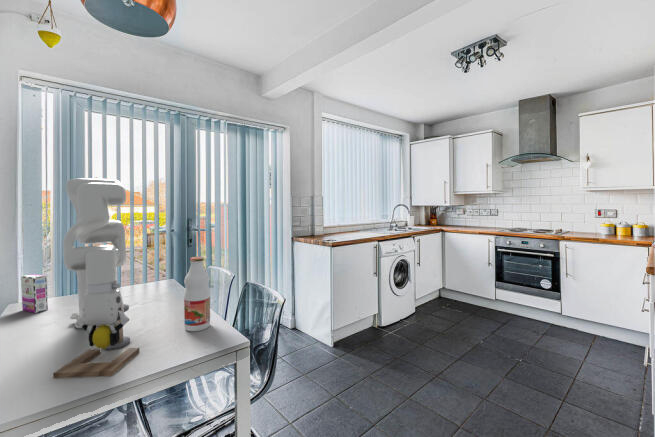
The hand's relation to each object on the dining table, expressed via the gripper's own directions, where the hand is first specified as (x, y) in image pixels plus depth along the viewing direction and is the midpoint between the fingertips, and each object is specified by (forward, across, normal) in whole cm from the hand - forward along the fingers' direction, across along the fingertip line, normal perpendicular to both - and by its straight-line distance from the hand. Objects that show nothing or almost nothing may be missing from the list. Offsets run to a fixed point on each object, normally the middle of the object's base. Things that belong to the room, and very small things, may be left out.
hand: (104, 343), depth 95 cm
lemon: (+2, 0, 0) cm, 2 cm away
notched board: (+5, 0, +2) cm, 6 cm away
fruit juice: (+5, -20, -24) cm, 31 cm away
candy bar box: (+5, +64, -49) cm, 81 cm away
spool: (+5, +3, -10) cm, 12 cm away
